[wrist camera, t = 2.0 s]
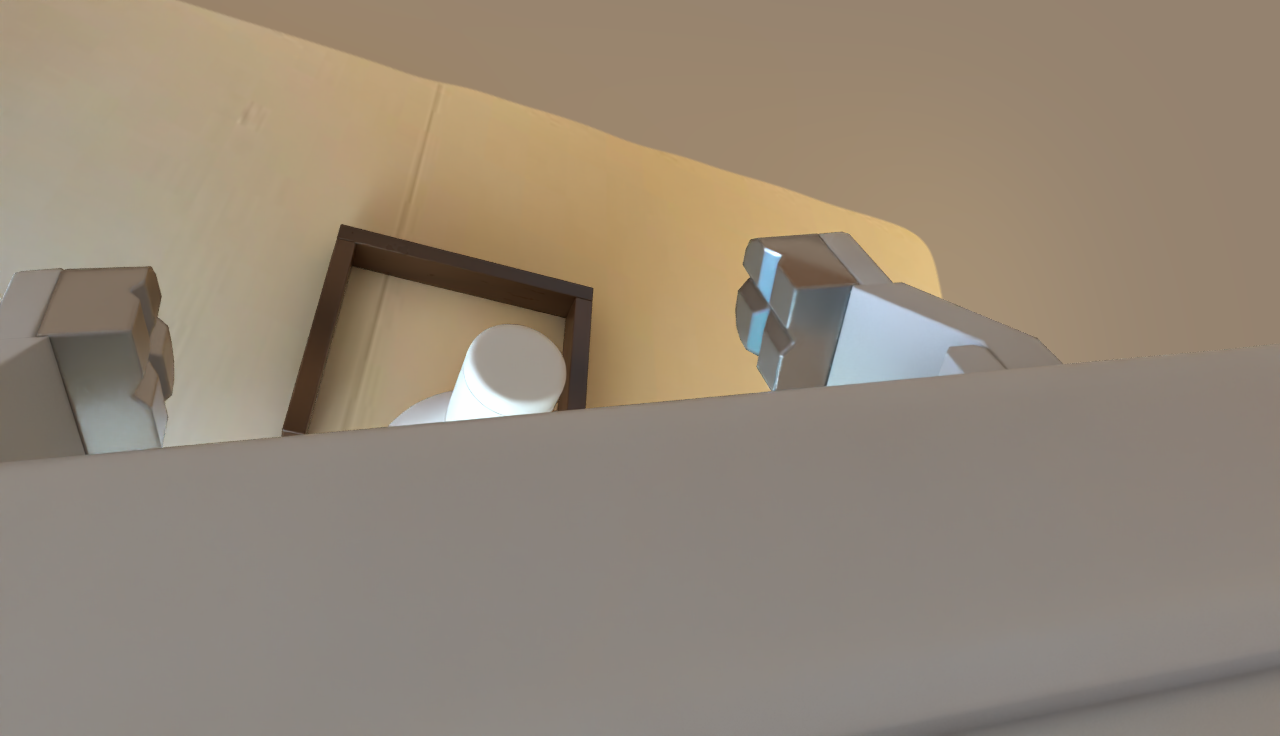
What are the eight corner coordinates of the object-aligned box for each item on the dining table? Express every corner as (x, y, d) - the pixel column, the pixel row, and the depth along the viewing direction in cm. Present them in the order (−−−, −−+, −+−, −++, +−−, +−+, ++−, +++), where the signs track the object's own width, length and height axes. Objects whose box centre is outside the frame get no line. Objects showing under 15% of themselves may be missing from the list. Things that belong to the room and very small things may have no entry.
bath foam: (513, 608, 45) (674, 364, 30) (417, 732, 40) (549, 519, 25) (395, 517, 45) (494, 231, 30) (287, 630, 41) (340, 360, 26)
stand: (568, 507, 49) (580, 488, 47) (279, 452, 45) (281, 430, 44) (583, 308, 57) (593, 287, 55) (336, 248, 53) (340, 223, 51)
